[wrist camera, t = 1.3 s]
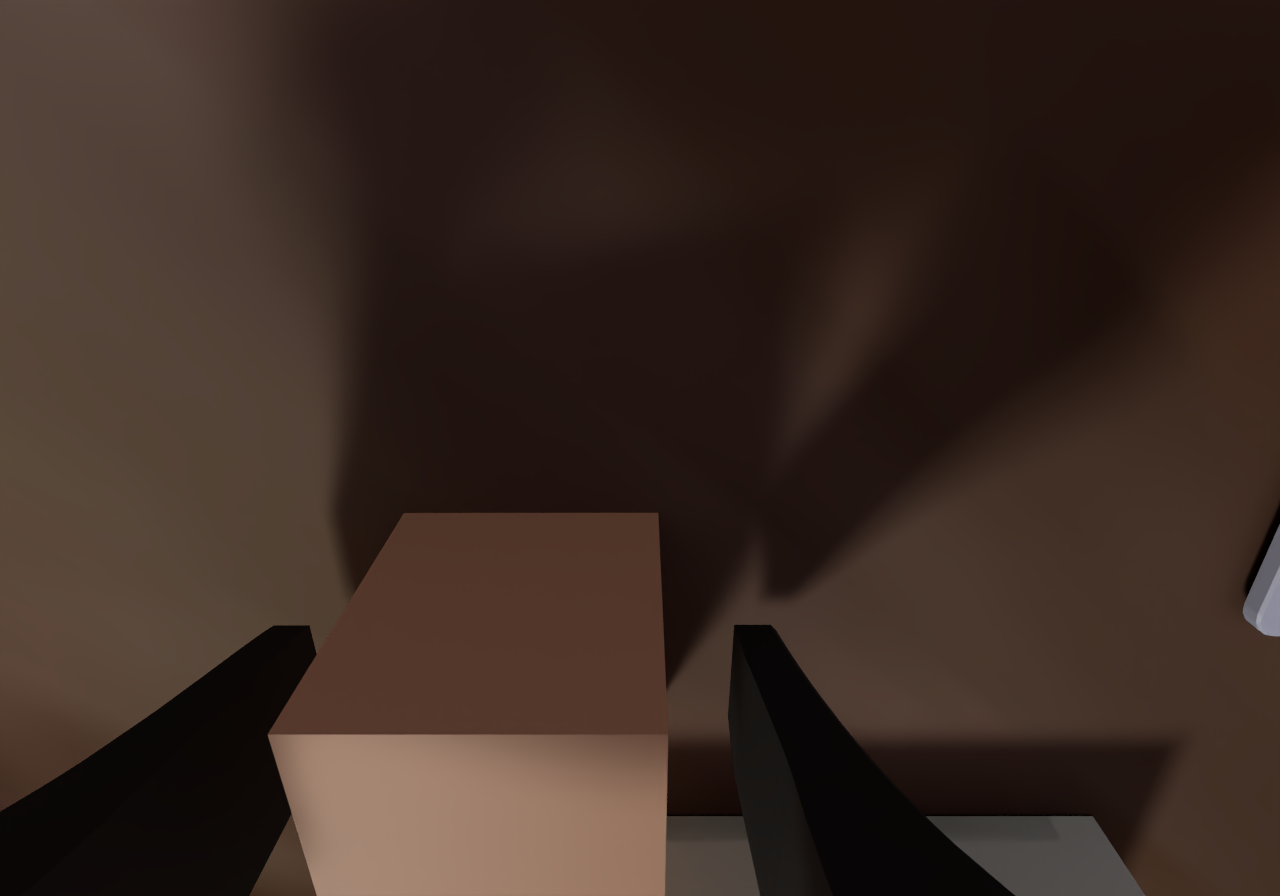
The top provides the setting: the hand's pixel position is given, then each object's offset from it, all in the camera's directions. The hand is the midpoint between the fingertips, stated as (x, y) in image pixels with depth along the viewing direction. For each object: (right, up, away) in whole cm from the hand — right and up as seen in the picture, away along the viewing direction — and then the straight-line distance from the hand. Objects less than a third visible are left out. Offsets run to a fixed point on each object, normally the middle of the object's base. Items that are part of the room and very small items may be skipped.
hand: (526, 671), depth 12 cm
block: (0, +1, +1) cm, 2 cm away
